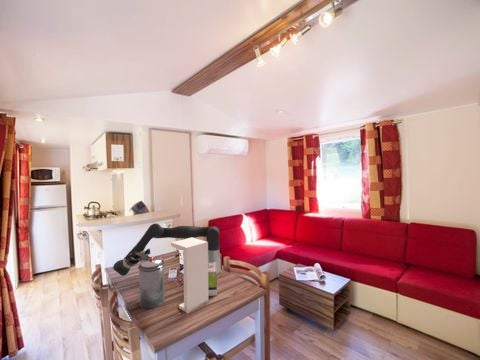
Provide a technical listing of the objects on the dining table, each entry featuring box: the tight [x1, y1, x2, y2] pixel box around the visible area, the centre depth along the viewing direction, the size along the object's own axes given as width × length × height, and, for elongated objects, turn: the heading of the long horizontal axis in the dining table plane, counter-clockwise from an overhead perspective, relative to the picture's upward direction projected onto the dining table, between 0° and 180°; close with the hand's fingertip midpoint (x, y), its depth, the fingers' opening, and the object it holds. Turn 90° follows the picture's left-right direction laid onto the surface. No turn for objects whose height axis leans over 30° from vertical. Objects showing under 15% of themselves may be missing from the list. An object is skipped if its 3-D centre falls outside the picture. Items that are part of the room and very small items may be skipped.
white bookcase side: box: [170, 237, 210, 314], centre depth 126 cm, size 15×14×34 cm
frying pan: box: [157, 253, 180, 263], centre depth 189 cm, size 32×13×6 cm, turn 127°
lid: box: [135, 252, 162, 269], centre depth 131 cm, size 24×11×4 cm, turn 47°
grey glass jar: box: [137, 261, 165, 310], centre depth 127 cm, size 14×14×21 cm
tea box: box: [208, 262, 218, 297], centre depth 141 cm, size 15×10×15 cm, turn 5°
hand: (142, 251), depth 135 cm, fingers open, 8 cm apart
